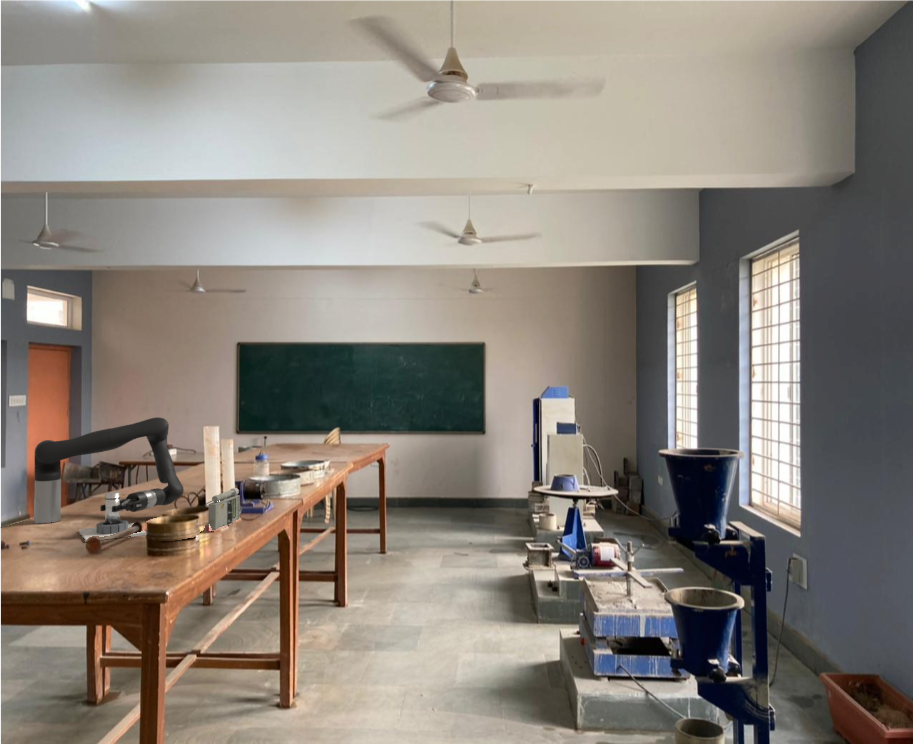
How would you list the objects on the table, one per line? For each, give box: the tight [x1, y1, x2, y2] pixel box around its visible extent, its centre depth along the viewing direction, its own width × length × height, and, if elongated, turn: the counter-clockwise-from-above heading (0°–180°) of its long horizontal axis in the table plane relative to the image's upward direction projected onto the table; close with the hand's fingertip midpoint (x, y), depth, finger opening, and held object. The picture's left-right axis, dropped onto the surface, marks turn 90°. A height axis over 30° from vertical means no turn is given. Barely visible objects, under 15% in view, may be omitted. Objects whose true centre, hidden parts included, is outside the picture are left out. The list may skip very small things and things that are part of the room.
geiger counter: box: [204, 487, 242, 530], centre depth 270 cm, size 14×6×25 cm
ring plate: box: [78, 519, 147, 542], centre depth 255 cm, size 20×20×4 cm
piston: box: [104, 491, 121, 525], centre depth 255 cm, size 5×5×12 cm
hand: (107, 508), depth 252 cm, fingers closed on piston, 5 cm apart
